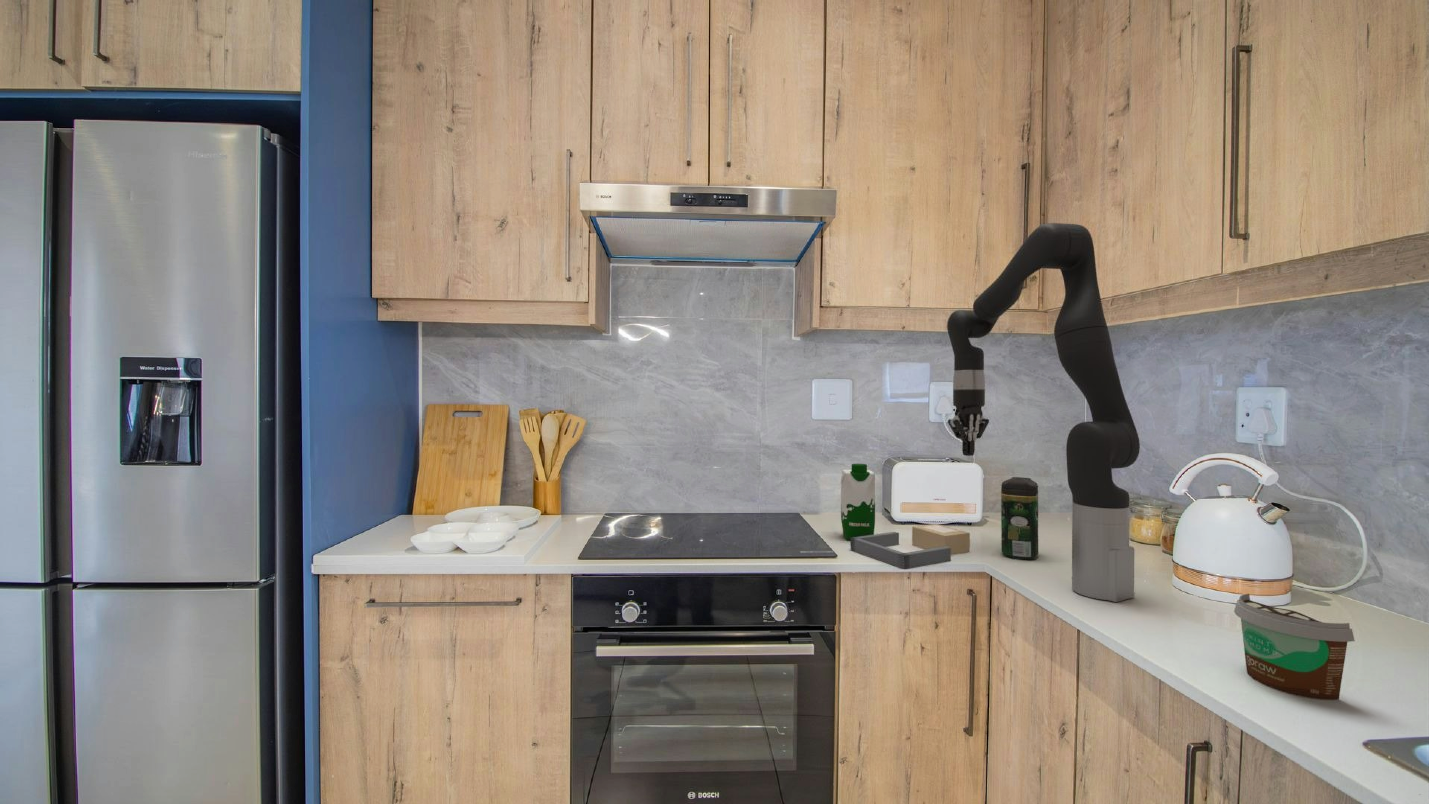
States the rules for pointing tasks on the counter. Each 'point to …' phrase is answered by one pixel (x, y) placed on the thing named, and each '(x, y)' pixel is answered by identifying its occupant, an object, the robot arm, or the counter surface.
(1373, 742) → the counter surface
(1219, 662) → the counter surface
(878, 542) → the grey u-shaped bracket
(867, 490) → the milk carton
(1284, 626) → the food container
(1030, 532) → the coffee jar
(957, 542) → the carton
